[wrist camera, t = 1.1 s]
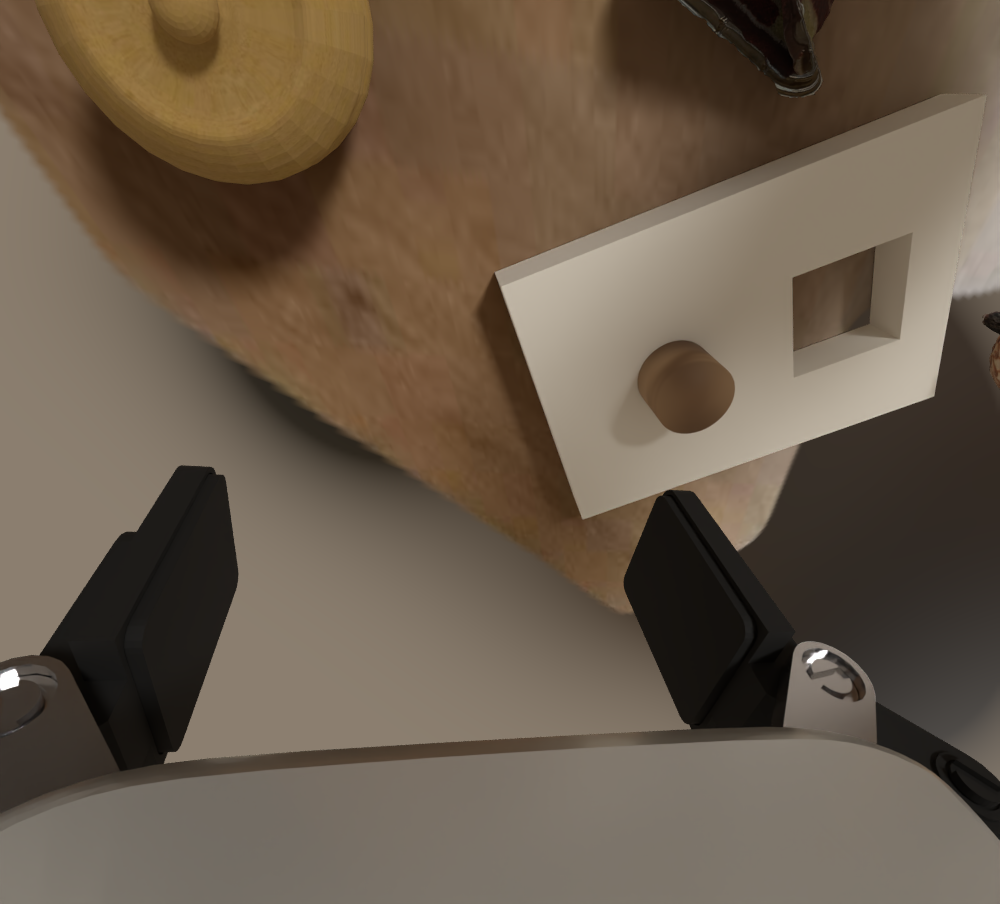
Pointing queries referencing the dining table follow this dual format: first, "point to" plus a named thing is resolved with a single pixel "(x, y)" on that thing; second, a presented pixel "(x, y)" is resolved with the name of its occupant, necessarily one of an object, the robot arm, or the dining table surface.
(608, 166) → the dining table surface
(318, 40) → the pot
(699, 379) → the brown wooden cylinder
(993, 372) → the acorn
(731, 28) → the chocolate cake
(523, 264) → the plate
